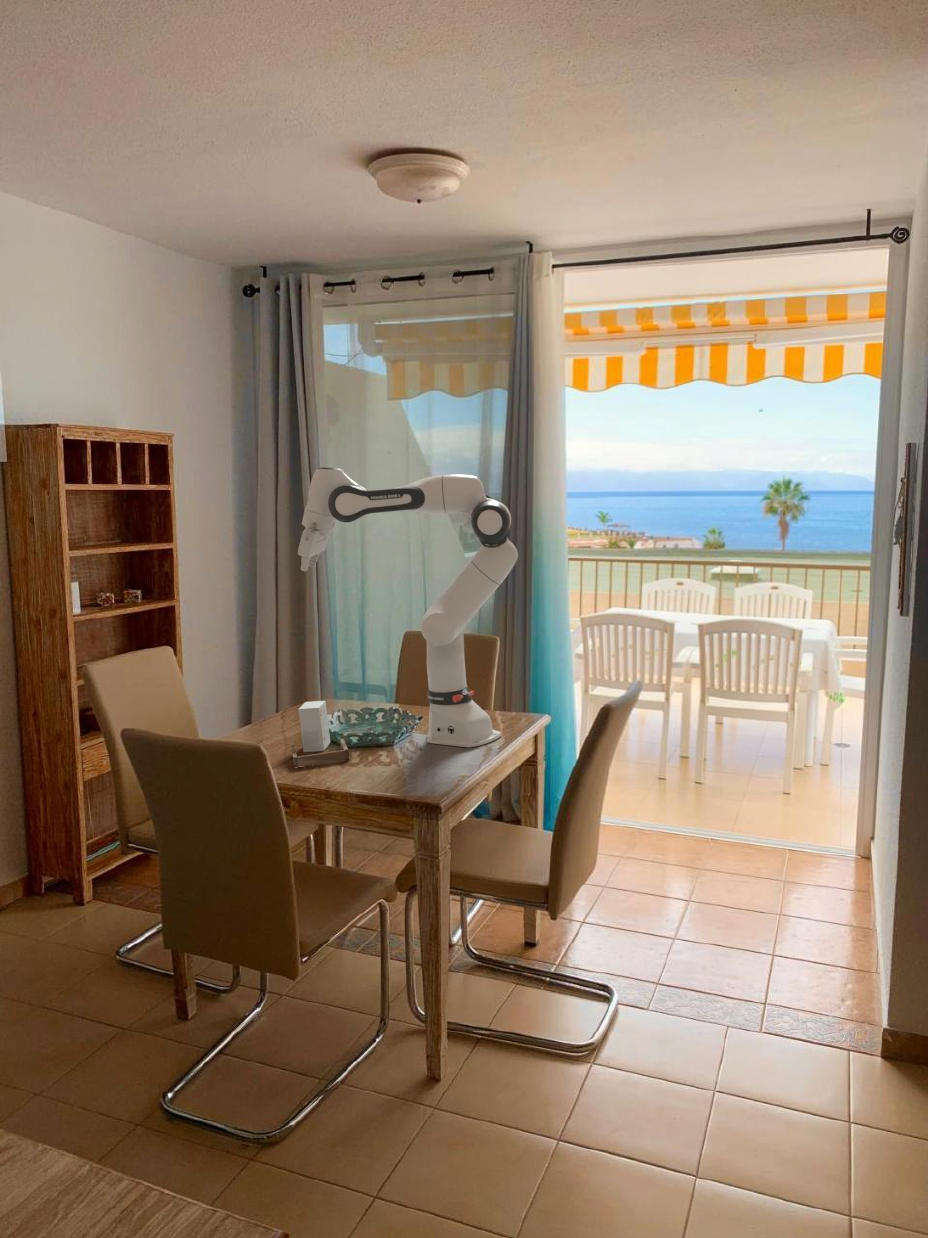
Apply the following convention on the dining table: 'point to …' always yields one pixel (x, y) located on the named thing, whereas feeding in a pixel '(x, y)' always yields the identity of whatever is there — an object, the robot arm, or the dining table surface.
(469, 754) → the dining table surface
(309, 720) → the small box
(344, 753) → the walnut bay
